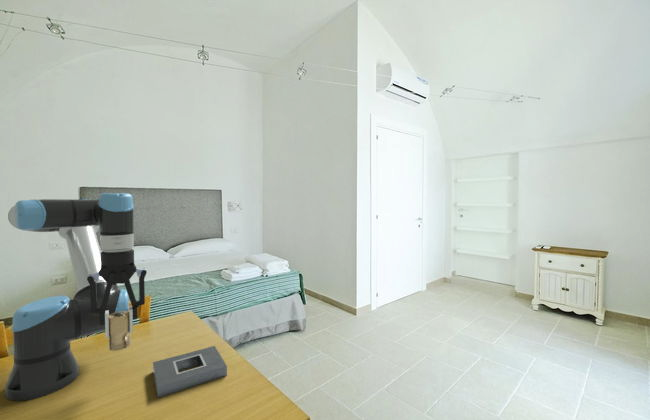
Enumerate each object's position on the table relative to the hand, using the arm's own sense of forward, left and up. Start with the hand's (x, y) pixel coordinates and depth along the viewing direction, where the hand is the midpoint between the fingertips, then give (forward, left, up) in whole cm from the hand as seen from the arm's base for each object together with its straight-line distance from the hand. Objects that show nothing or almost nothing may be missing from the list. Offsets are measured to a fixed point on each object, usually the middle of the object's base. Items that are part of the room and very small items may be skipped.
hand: (119, 333), depth 83 cm
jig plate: (+4, +17, -15) cm, 23 cm away
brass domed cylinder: (0, 0, -4) cm, 4 cm away
